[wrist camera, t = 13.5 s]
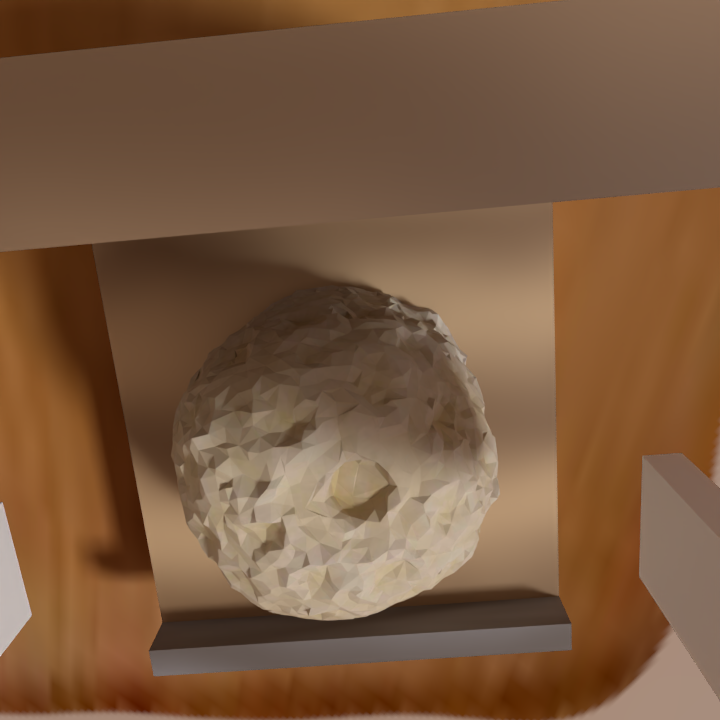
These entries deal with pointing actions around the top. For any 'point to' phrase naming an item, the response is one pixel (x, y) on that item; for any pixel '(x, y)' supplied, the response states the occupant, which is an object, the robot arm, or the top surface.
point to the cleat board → (356, 249)
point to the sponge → (335, 454)
